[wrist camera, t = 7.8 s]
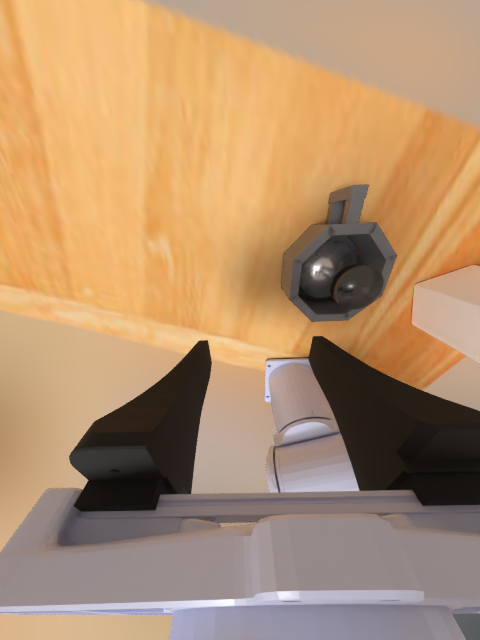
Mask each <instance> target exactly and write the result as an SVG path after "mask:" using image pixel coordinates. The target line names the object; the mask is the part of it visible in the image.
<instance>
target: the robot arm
mask: <svg viewBox="0 0 480 640" xmlns="http://www.w3.org/2000/svg"><path fill="white" fill-rule="evenodd" d="M211 364H212V362H211V356H210V350H209V344H208V340H207V341H198V343H197V344H196V345H195V346H194V347H193V348H192V349H191V350H190V352H189V353H188V354H187V355H186V356H185V357H184V358H183V359H182V360H181V361H180V363H178V364H177V365H176V367H174V368H173V369H172V370H171V371H170V372H169V373H168V374H167V375H166V376H165V377H163V378H162V379H161V380H160V381H159V382H157V383H156V384H155V385H153V386H152V387H151V388H149V389H148V390H146V391H145V392H144V393H143V394H141V395H139V396H138V397H136V398H135V399H133V400H131V401H130V402H128V403H127V404H125V405H123V406H122V407H120V408H118V409H116V410H115V411H113V412H111V413H109V414H108V415H106V416H104V417H102V418H100V419H98V420H96V421H95V422H94V423H93V424H92V426H91V427H90V428H89V430H88V431H87V432H86V434H85V435H84V436H83V438H82V439H81V440H80V442H79V443H78V445H77V446H76V447H75V448H74V450H73V451H72V452H71V454H70V456H69V459H70V463H71V464H72V466H73V467H74V468H75V469H76V470H78V471H79V472H80V473H81V474H82V475H83V476H85V477H86V478H87V479H88V480H89V481H88V482H87V484H86V486H85V487H84V489H83V490H82V489H78V488H49V489H47V490H45V492H44V493H43V494H42V496H41V497H40V499H39V500H38V501H37V503H36V504H35V505H34V507H33V508H32V510H31V511H30V512H29V514H28V515H27V516H26V518H25V519H24V521H23V522H22V524H21V525H20V526H19V527H18V529H17V530H16V531H15V533H14V534H13V536H12V537H11V538H10V540H9V541H8V542H7V544H6V545H5V547H4V548H3V549H2V551H1V552H0V614H19V615H22V614H23V615H27V614H28V615H29V614H83V615H84V614H85V615H86V614H88V615H91V614H93V615H97V614H98V615H99V614H100V615H173V617H172V623H171V629H170V635H169V640H466V639H465V637H464V635H463V634H462V632H461V630H460V628H459V626H458V625H457V623H456V621H455V619H454V617H453V616H452V613H480V411H478V410H475V409H472V408H469V407H466V406H463V405H460V404H457V403H454V402H451V401H448V400H445V399H442V398H440V397H437V396H435V395H432V394H429V393H427V392H424V391H422V390H419V389H417V388H414V387H412V386H409V385H407V384H405V383H403V382H400V381H398V380H396V379H394V378H392V377H390V376H387V375H385V374H384V373H382V372H380V371H378V370H376V369H374V368H372V367H370V366H368V365H367V364H365V363H363V362H362V361H360V360H358V359H357V358H355V357H353V356H352V355H350V354H349V353H347V352H346V351H344V350H342V349H341V348H339V347H338V346H337V345H335V344H334V343H332V342H331V341H329V340H328V339H326V338H324V337H323V336H314V337H313V339H312V344H311V349H310V354H309V358H301V359H271V360H267V361H266V371H265V401H266V402H271V406H272V412H273V418H274V423H275V429H276V434H275V435H274V442H275V445H274V446H271V447H270V448H269V451H268V454H267V457H266V474H267V482H268V488H269V493H227V494H226V493H225V494H224V493H223V494H191V488H192V479H193V470H194V461H195V453H196V445H197V437H198V430H199V423H200V417H201V411H202V406H203V402H204V398H205V394H206V390H207V386H208V382H209V378H210V372H211ZM268 365H269V366H268ZM246 522H257V523H255V524H247V525H239V526H230V527H222V528H220V527H221V526H220V524H219V523H246Z"/></svg>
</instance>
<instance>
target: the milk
mask: <svg viewBox="0 0 480 640" xmlns="http://www.w3.org/2000/svg"><path fill="white" fill-rule="evenodd" d="M411 324H412V325H414V326H415V327H417V328H419V329H421V330H422V331H424V332H426V333H428V334H429V335H431V336H433V337H435V338H436V339H438V340H440V341H442V342H443V343H445V344H447V345H448V346H450V347H452V348H454V349H455V350H457V351H459V352H461V353H462V354H464V355H466V356H468V357H469V358H471V359H473V360H475V361H476V362H478V363H480V266H477V265H470V266H467V267H464V268H462V269H459V270H456V271H453V272H450V273H447V274H444V275H441V276H438V277H435V278H432V279H429V280H426V281H423V282H420V283H417V284H415V285H414V294H413V307H412V319H411Z"/></svg>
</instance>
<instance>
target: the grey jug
mask: <svg viewBox="0 0 480 640" xmlns="http://www.w3.org/2000/svg"><path fill="white" fill-rule="evenodd" d="M368 187H369V185H353V186H350V187H347V188H344V189H341V190H339V191H336V192H333V193H330V199H329V204H330V206H329V212H328V217H327V223H326V224H319V225H311V226H310V227H309V228H308V229H307V230H306V231H305V232H304V233H303V234H302V235H301V236H300V237H299V238H298V239H297V240H296V241H295V242H294V243H293V244H292V245H291V246H290V248H289V249H288V250H287V251H286V252H285V253H284V254H283V266H282V279H281V288H282V289H283V291H284V292H285V294H286V295H287V297H288V298H289V300H290V301H291V302H292V303H293V304H294V305H295V306H296V307H298V308H299V309H300V310H301V311H302V312H303V313H304V314H305V315H306V316H307V317H308V318H309V319H310V320H311V321H312V322H316V321H343V320H349V319H350V318H351V317H353V316H354V315H356V314H357V313H358V312H360V311H361V310H363V309H364V308H365V307H367V306H368V305H367V306H365V307H363V308H360V309H354V310H353V309H347V308H344V307H343V306H341V305H340V304H339V303H338V302H336V301H335V300H334V299H333V298H332V296H329V297H324V298H316V297H312V296H310V295H308V294H306V293H305V292H304V291H303V290H302V289H301V288H300V286H299V284H300V276H301V268H302V263H303V262H304V261H305V260H307V259H308V258H309V257H310V256H311V255H312V254H313V253H314V252H315V251H316V250H317V249H318V248H319V247H320V246H321V245H322V244H323V243H324V242H325V241H338V242H342V243H344V244H346V245H347V246H349V247H350V248H351V249H352V251H353V253H354V255H355V260H356V264H362V265H366V266H369V267H372V268H375V269H377V270H378V271H380V273H381V274H382V276H383V280H384V284H383V288H382V290H381V292H380V294H379V296H378V297H377V298H376V299H375V300H377V299H378V298H379V297H381V296H382V294H383V291H384V289H385V286H386V283H387V281H388V278H389V276H390V273H391V270H392V268H393V265H394V262H395V260H396V257H397V255H396V253H395V251H394V250H393V248H392V246H391V245H390V243H389V242H388V240H387V238H386V237H385V235H384V233H383V232H382V230H381V228H380V227H379V225H378V224H377V222H367V223H359V219H360V215H361V211H362V207H363V203H364V199H365V198H366V195H367V191H368ZM344 202H346V205H345V209H344V214H343V219H342V223H340V221H341V217H342V212H343V207H344ZM344 235H346V236H347V237H346V236H344ZM358 253H359V255H358ZM299 295H300V296H301V297H303V298H305V299H307V300H303V299H302V298H301V297H300V296H299ZM329 298H330V299H329ZM375 300H374V301H375ZM374 301H373V302H374ZM370 304H371V303H370ZM370 304H369V305H370Z"/></svg>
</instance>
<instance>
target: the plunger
mask: <svg viewBox="0 0 480 640" xmlns="http://www.w3.org/2000/svg"><path fill="white" fill-rule="evenodd" d="M383 284H384V280H383V276H382V274H381V273H380V271H378V270H377V269H375V268H372V267H369V266H366V265H362V264H356V260H355V255H354V253H353V251H352V249H351V248H350V247H349V246H347V245H346V244H344V243H342V242H338V241H325V242H324V243H323V244H322V245H321V246H320V247H319V248H318V249H317V250H316V251H315V252H314V253H313V254H312V255H311V256H310V257H309V258H308V259H307V260H305V261H304V262H303V263H302V268H301V276H300V284H299V286H300V288H301V289H302V290H303V291H304V292H305V293H306V294H308V295H310V296H312V297H316V298H324V297H329V296H332V298H333V299H334V300H335V301H336V302H338V303H339V304H340V305H341V306H343V307H344V308H347V309H353V310H354V309H360V308H363V307H365V306H367V305H369V304H370V303H372V302H373V301H374V300H375V299H376V298H377V297H378V296H379V294H380V292H381V290H382V288H383Z"/></svg>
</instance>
